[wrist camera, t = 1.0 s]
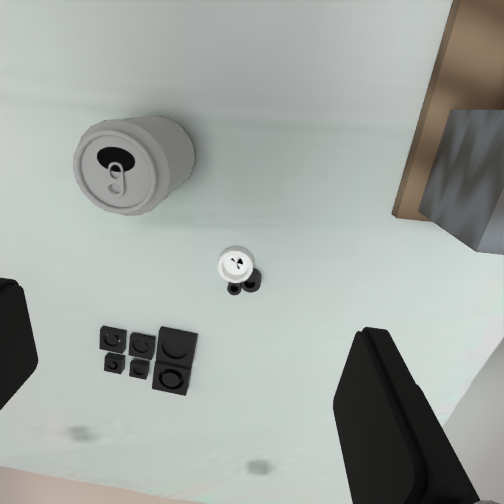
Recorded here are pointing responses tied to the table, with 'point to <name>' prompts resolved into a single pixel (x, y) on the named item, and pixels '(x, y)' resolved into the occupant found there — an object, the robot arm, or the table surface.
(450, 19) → the block
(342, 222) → the table surface
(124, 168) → the can
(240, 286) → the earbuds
